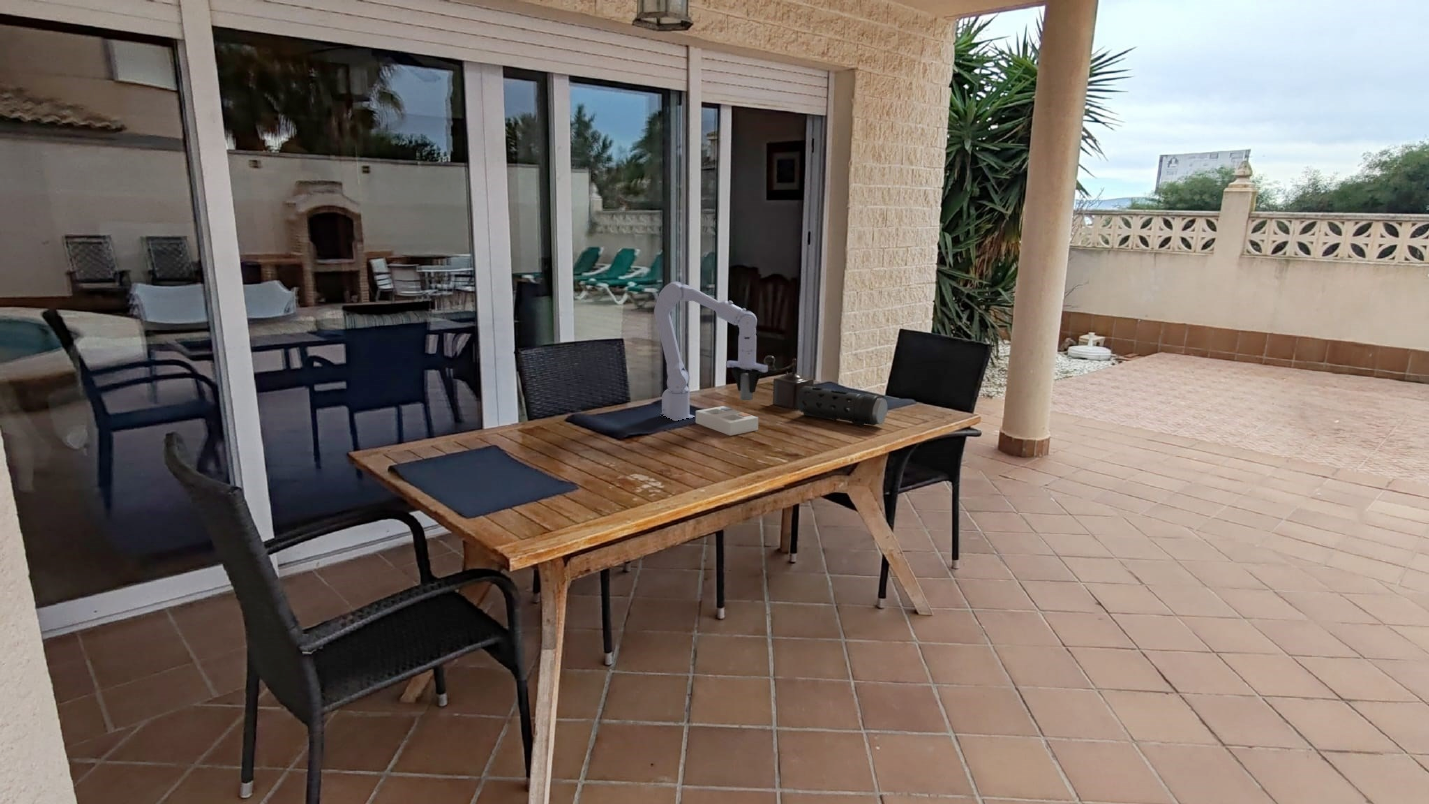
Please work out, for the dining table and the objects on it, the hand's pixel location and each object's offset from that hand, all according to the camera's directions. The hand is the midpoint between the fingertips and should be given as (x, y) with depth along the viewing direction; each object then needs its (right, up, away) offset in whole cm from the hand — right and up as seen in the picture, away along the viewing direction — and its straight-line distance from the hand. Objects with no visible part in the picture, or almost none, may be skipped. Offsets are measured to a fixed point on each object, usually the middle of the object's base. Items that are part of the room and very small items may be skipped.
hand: (746, 391), depth 247 cm
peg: (0, -2, +1) cm, 2 cm away
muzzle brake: (+31, -10, +1) cm, 32 cm away
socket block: (-7, -11, -6) cm, 14 cm away
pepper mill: (+15, -5, +21) cm, 26 cm away
